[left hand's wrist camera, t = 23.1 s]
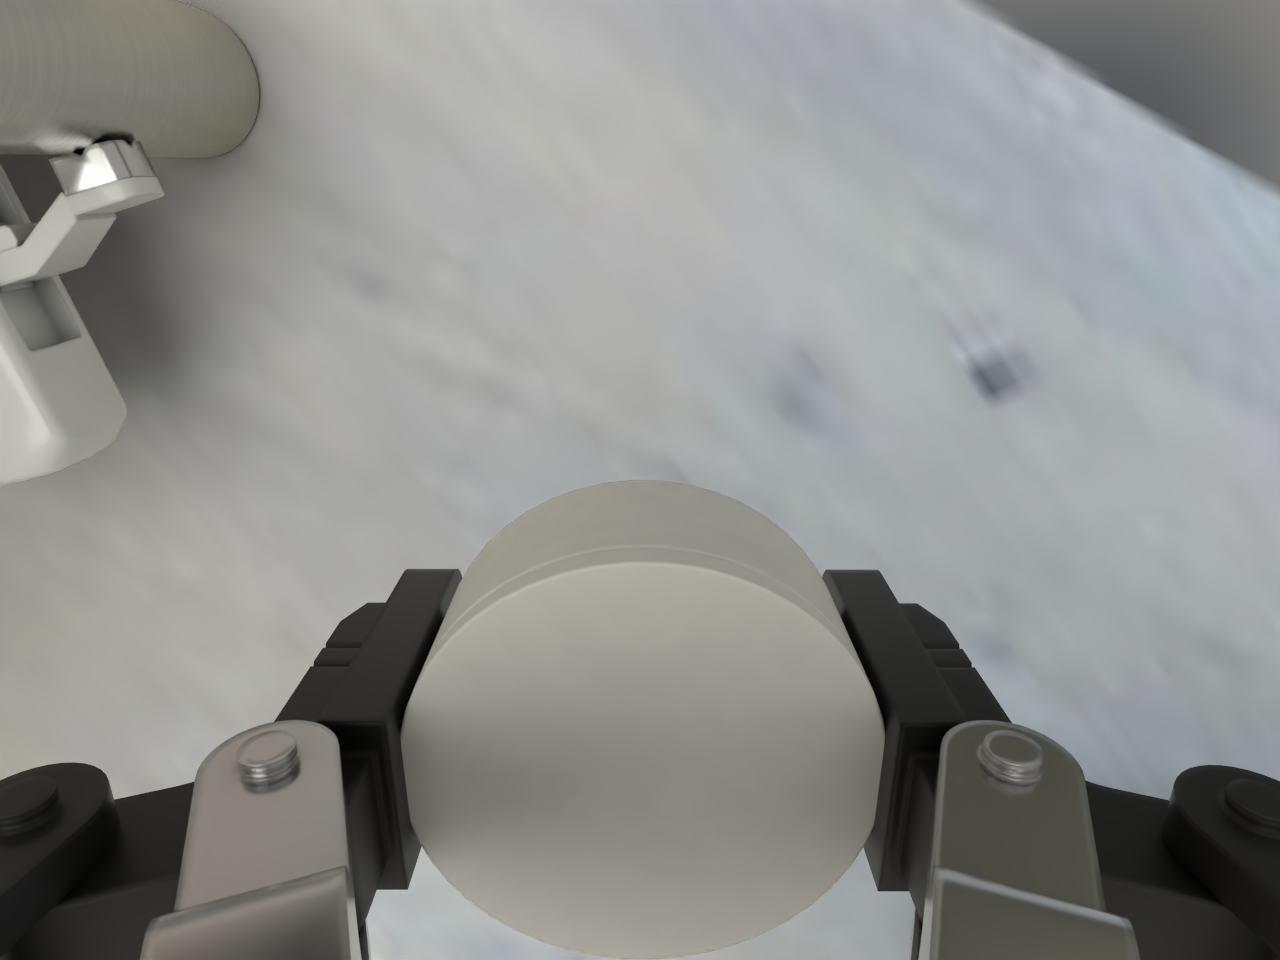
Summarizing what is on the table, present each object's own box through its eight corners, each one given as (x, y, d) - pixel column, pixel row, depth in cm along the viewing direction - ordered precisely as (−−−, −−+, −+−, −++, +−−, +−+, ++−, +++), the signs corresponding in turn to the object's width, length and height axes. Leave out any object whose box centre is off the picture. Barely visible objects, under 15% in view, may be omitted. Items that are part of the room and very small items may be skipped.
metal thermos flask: (284, 129, 28) (-125, 84, 13) (166, 178, 29) (-351, 188, 14) (215, -19, 27) (-335, -255, 12) (92, 36, 27) (-578, -121, 12)
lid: (510, 419, 10) (473, 491, 8) (908, 555, 10) (977, 656, 8) (402, 758, 12) (347, 894, 9) (749, 856, 12) (772, 1005, 10)
